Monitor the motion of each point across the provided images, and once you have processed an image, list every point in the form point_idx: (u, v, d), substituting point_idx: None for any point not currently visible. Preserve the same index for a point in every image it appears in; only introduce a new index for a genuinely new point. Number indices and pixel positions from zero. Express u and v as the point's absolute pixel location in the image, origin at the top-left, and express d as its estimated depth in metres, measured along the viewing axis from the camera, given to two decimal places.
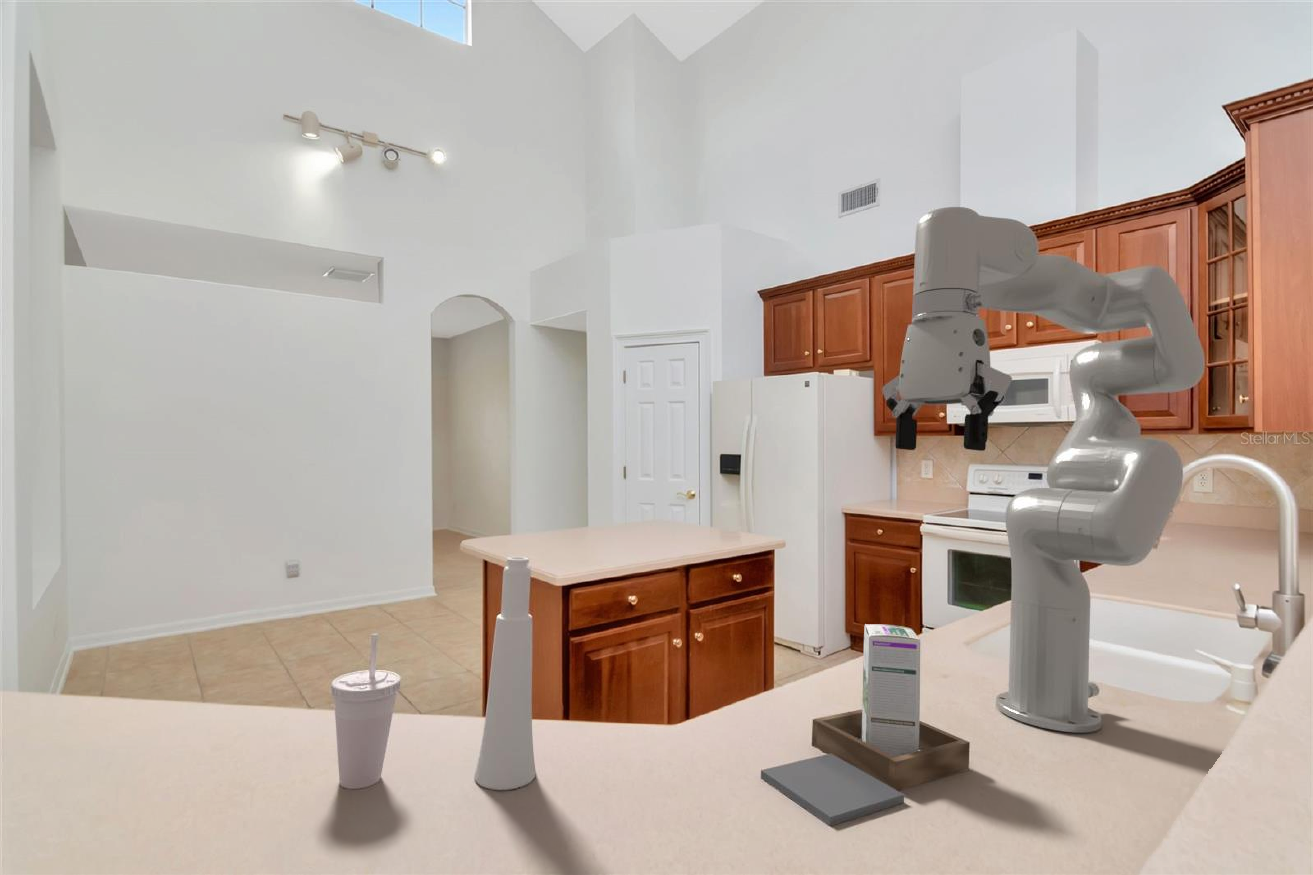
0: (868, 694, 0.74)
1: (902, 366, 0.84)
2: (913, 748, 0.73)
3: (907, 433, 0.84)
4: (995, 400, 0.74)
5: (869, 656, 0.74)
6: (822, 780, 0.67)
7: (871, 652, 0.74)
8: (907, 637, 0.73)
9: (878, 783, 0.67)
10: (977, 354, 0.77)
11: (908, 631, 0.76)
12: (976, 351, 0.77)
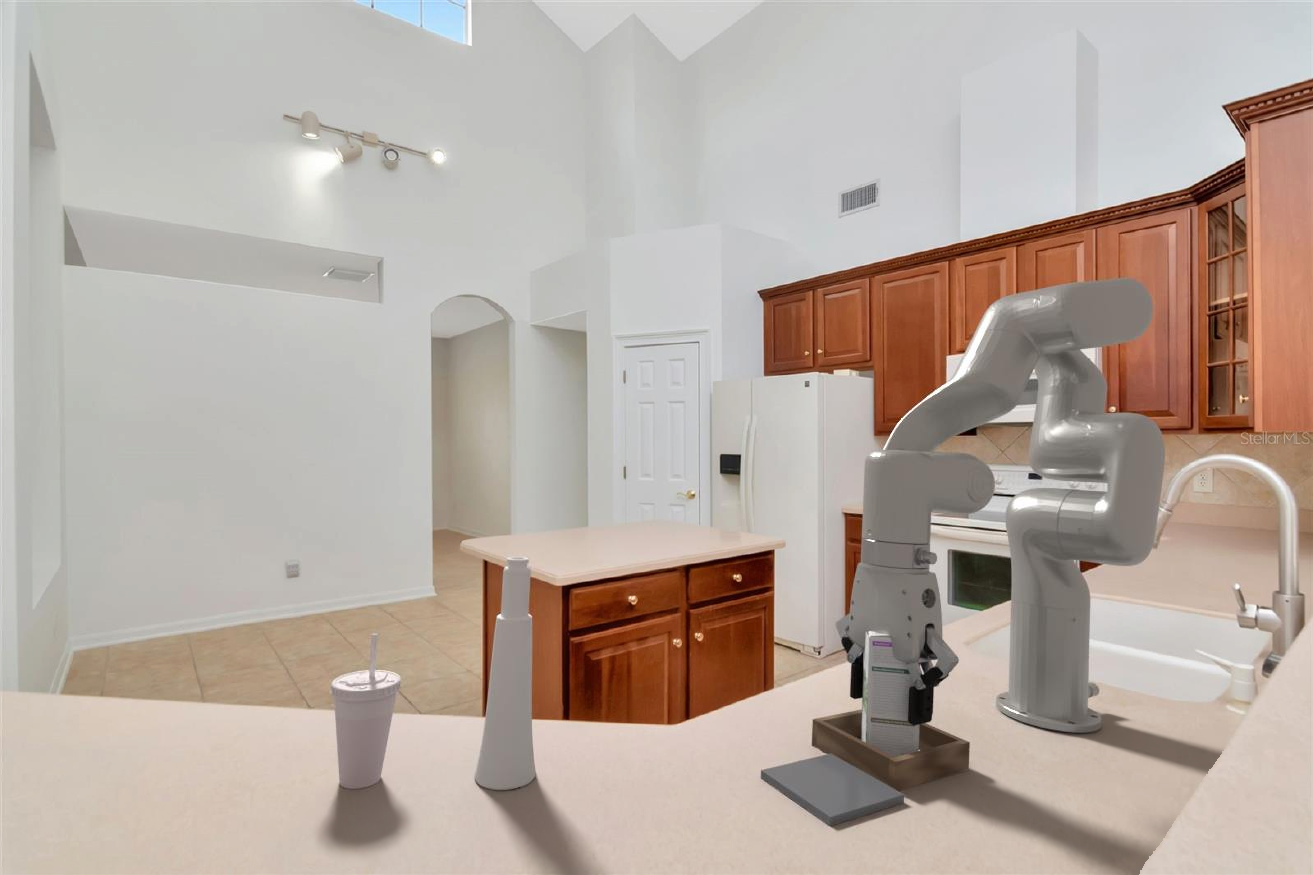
0: (868, 694, 0.74)
1: (852, 607, 0.79)
2: (913, 748, 0.73)
3: (862, 681, 0.79)
4: (939, 678, 0.70)
5: (869, 656, 0.74)
6: (822, 780, 0.67)
7: (872, 652, 0.74)
8: None
9: (878, 783, 0.67)
10: (927, 618, 0.72)
11: None
12: (926, 615, 0.72)
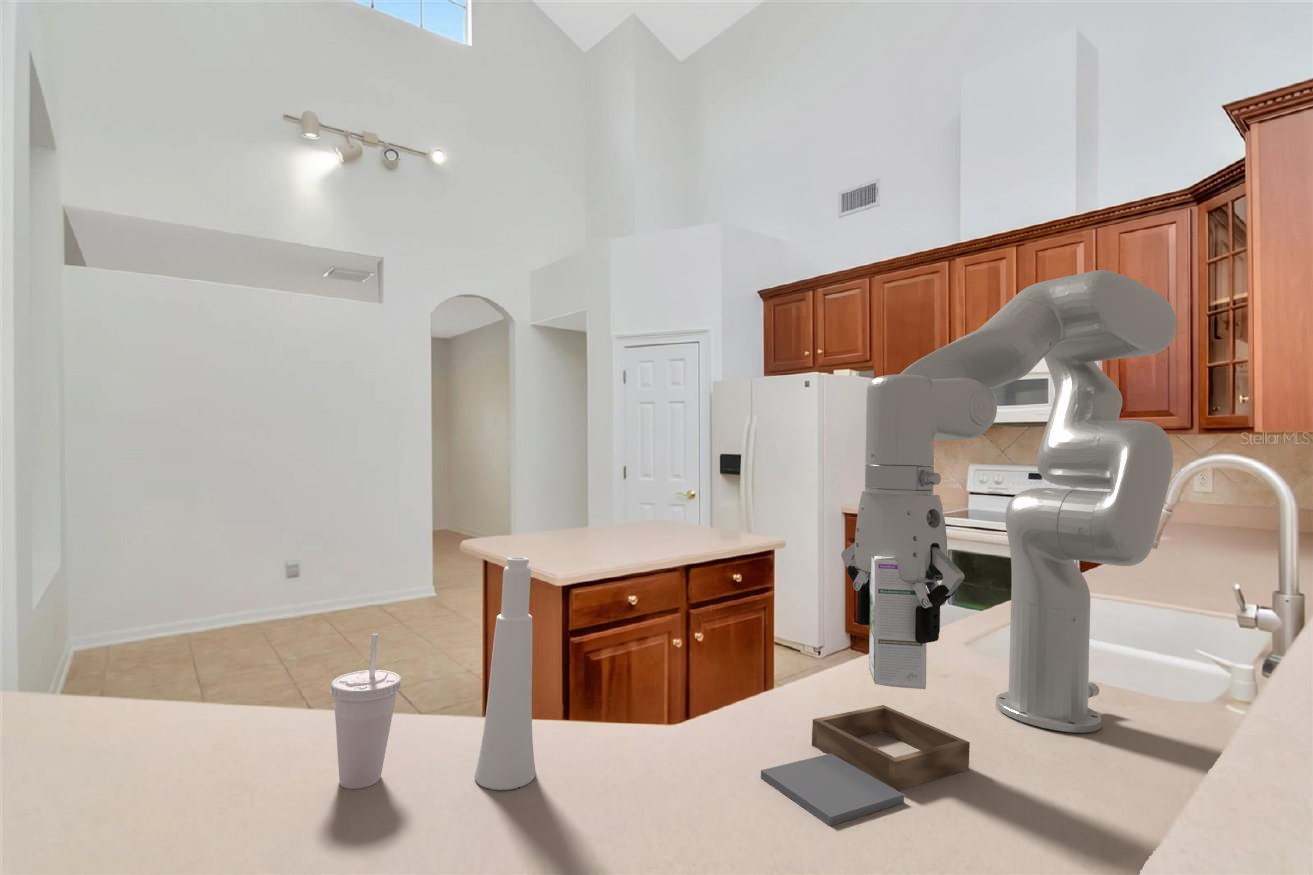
0: (875, 616, 0.74)
1: (857, 534, 0.79)
2: (921, 668, 0.73)
3: (869, 608, 0.80)
4: (945, 595, 0.71)
5: (875, 579, 0.74)
6: (822, 780, 0.67)
7: (878, 575, 0.74)
8: None
9: (878, 783, 0.67)
10: (932, 538, 0.72)
11: None
12: (931, 534, 0.72)
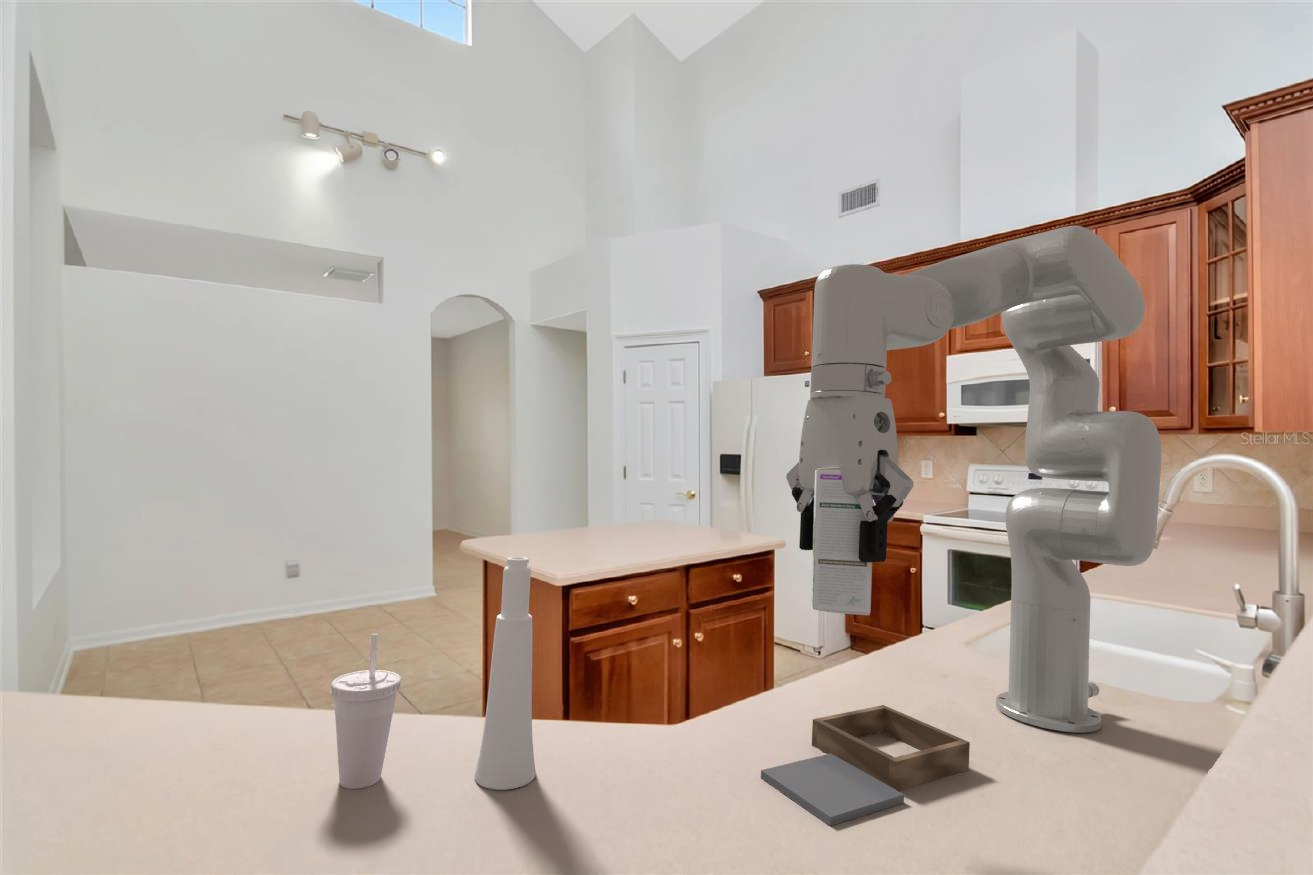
0: (815, 533, 0.66)
1: (801, 449, 0.71)
2: (865, 591, 0.65)
3: None
4: (892, 506, 0.62)
5: (817, 491, 0.66)
6: (822, 780, 0.67)
7: (819, 486, 0.66)
8: None
9: (878, 783, 0.67)
10: (879, 444, 0.64)
11: None
12: (878, 439, 0.64)
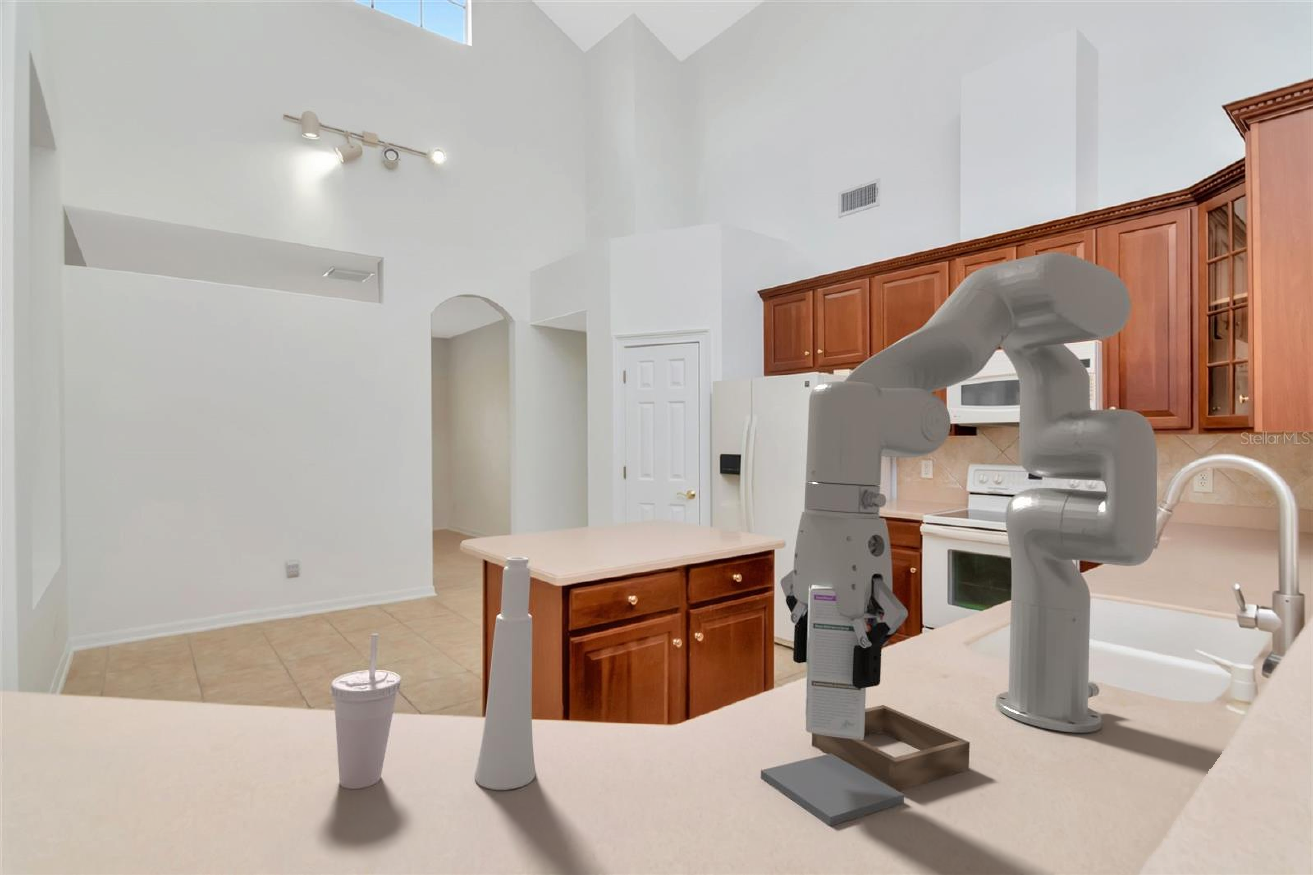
0: (809, 654, 0.65)
1: (795, 560, 0.71)
2: (859, 715, 0.64)
3: None
4: (886, 634, 0.62)
5: (810, 612, 0.66)
6: (822, 780, 0.67)
7: (813, 607, 0.65)
8: None
9: (878, 783, 0.67)
10: (874, 568, 0.63)
11: None
12: (872, 564, 0.63)
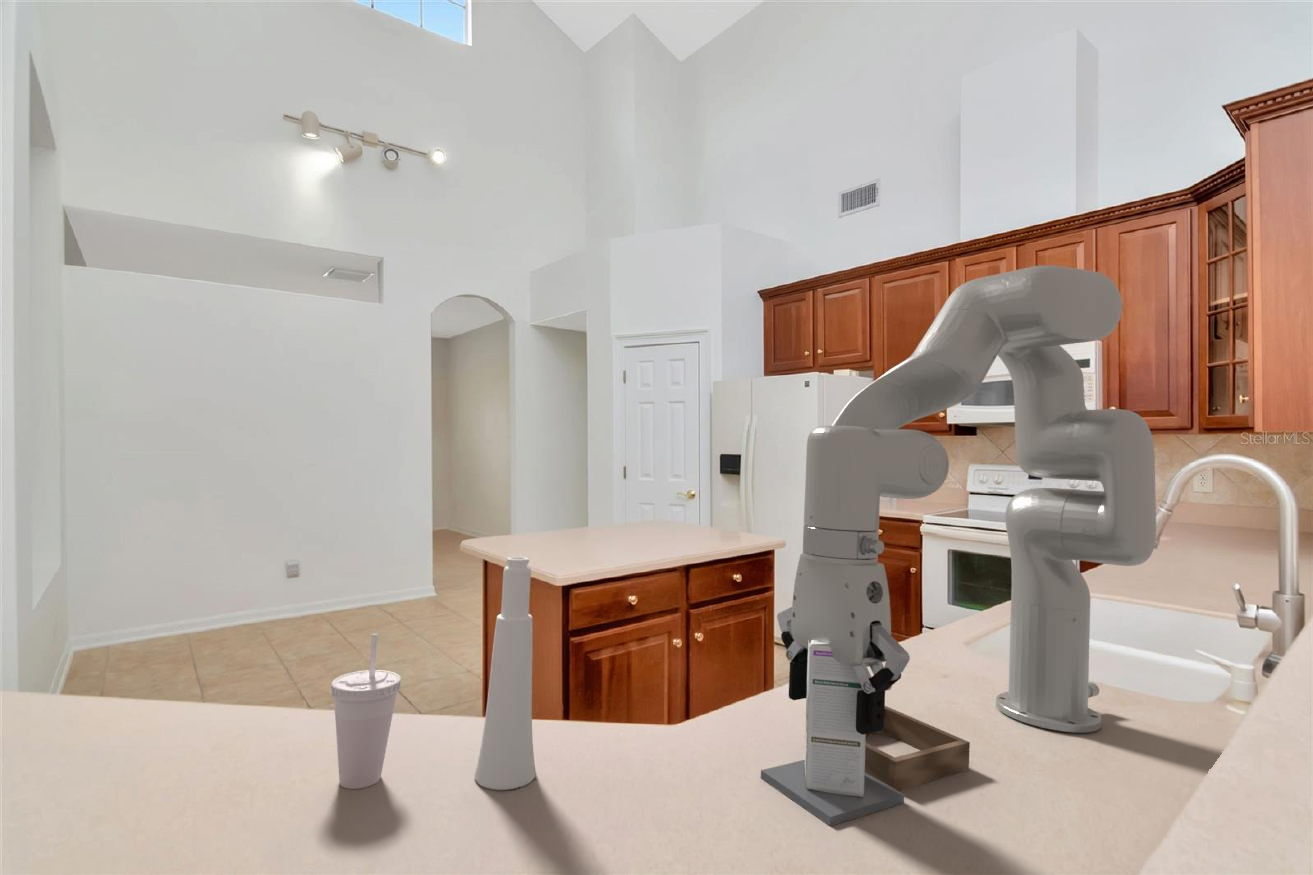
0: (808, 710, 0.65)
1: (794, 603, 0.70)
2: (858, 772, 0.64)
3: (802, 680, 0.71)
4: (890, 681, 0.61)
5: (810, 667, 0.66)
6: None
7: (812, 662, 0.66)
8: None
9: (878, 783, 0.67)
10: (872, 615, 0.63)
11: None
12: (871, 611, 0.63)
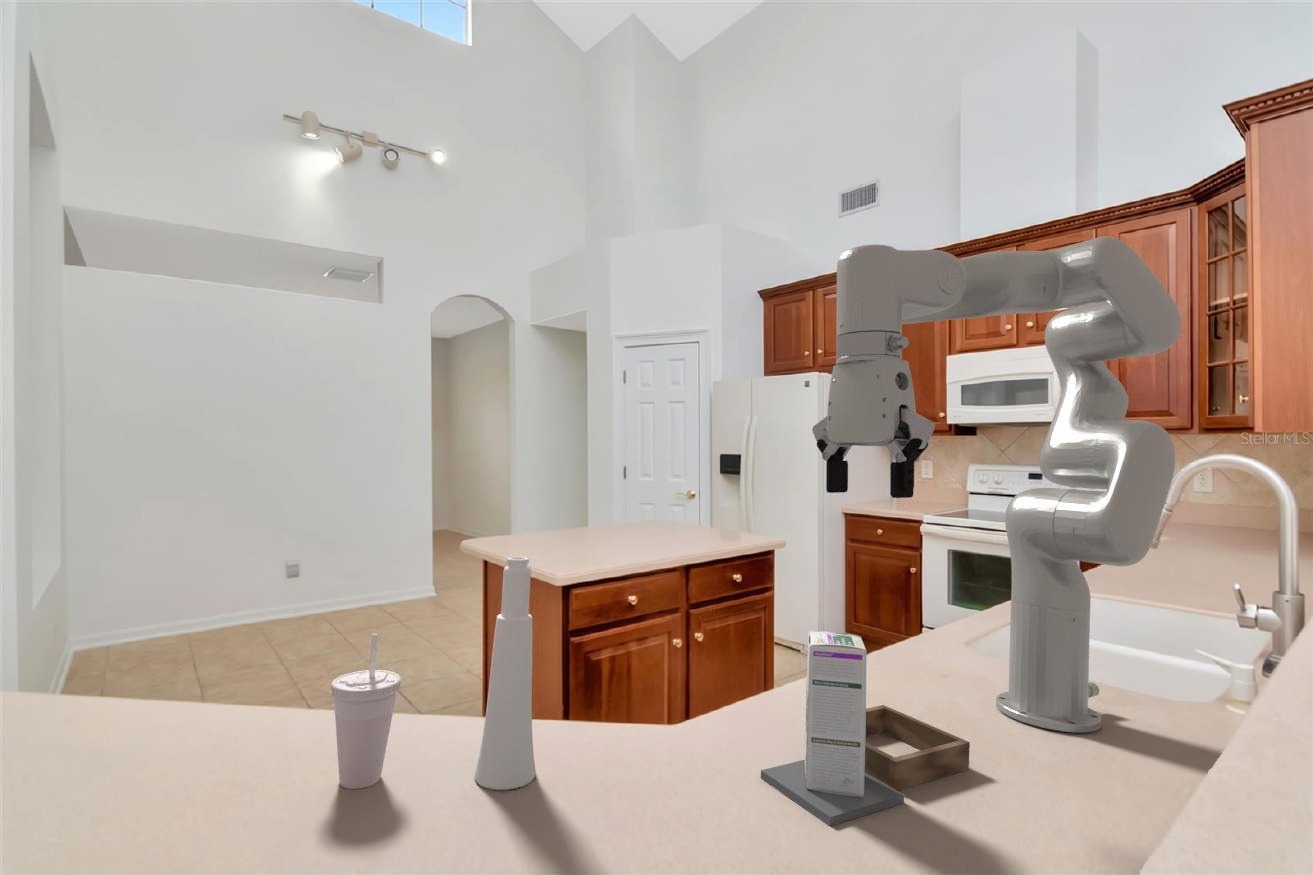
0: (808, 711, 0.65)
1: (829, 408, 0.81)
2: (858, 772, 0.64)
3: (838, 476, 0.82)
4: (919, 448, 0.72)
5: (809, 668, 0.66)
6: None
7: (812, 663, 0.65)
8: (852, 647, 0.65)
9: (878, 783, 0.67)
10: (900, 399, 0.74)
11: (855, 639, 0.68)
12: (899, 396, 0.74)
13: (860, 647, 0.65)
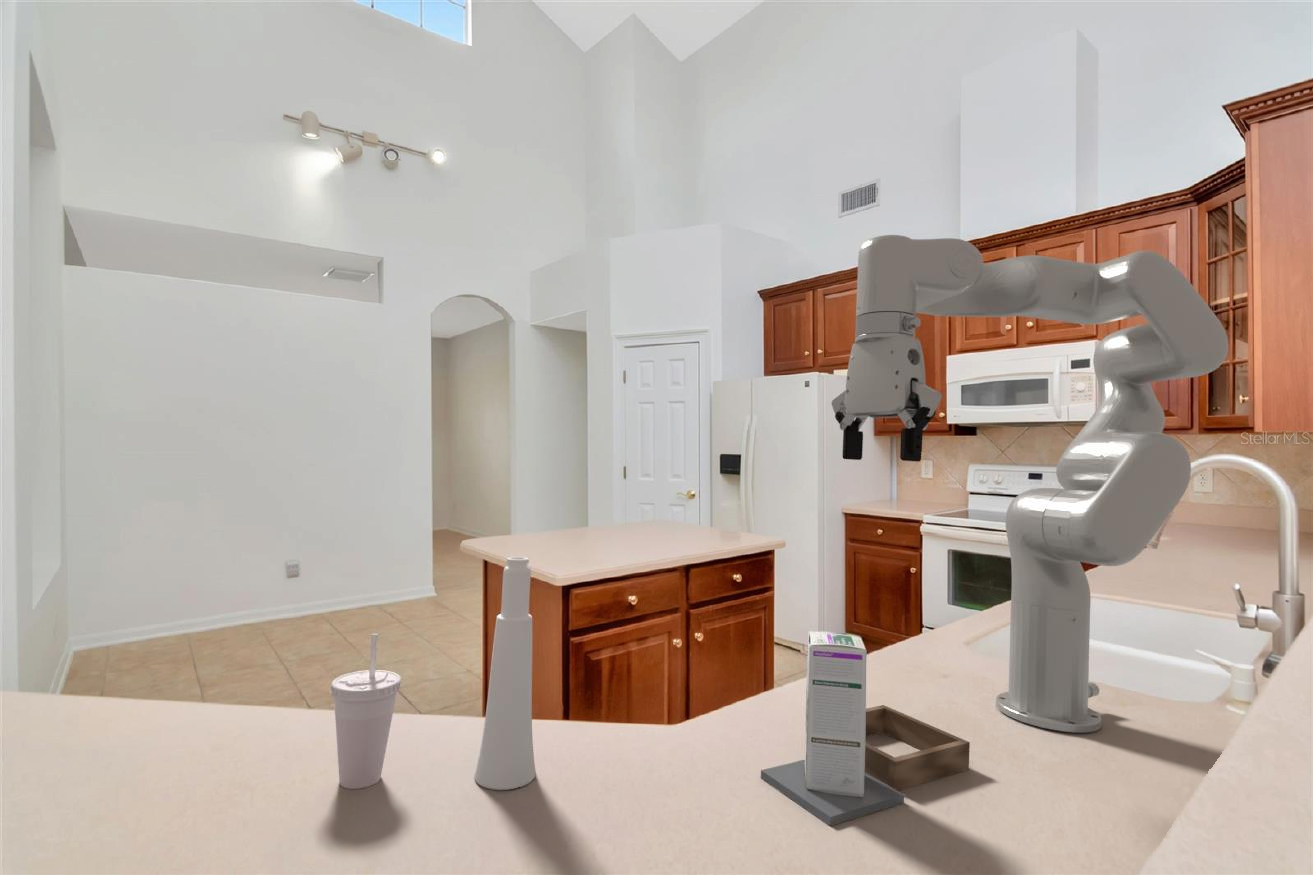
0: (808, 711, 0.65)
1: (847, 382, 0.90)
2: (858, 772, 0.64)
3: (853, 444, 0.91)
4: (927, 415, 0.81)
5: (809, 668, 0.66)
6: None
7: (812, 663, 0.65)
8: (852, 647, 0.65)
9: (878, 783, 0.67)
10: (912, 373, 0.83)
11: (855, 639, 0.68)
12: (911, 370, 0.83)
13: (860, 647, 0.65)
